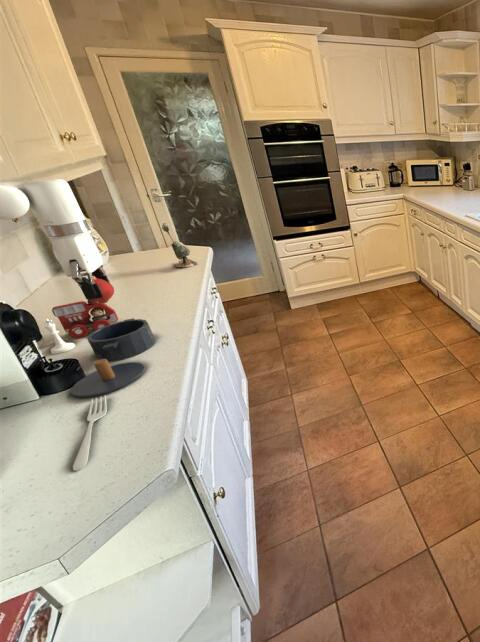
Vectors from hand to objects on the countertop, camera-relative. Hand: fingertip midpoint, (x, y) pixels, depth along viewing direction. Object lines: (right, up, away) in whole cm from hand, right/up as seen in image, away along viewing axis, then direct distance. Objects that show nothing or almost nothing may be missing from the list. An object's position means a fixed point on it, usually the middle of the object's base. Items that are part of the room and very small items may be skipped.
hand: (99, 293), depth 107 cm
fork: (+23, -30, -23) cm, 44 cm away
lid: (+10, -22, -7) cm, 25 cm away
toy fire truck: (-21, -12, +18) cm, 30 cm away
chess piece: (-19, -17, +8) cm, 27 cm away
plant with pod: (-36, +11, +73) cm, 82 cm away
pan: (0, -16, +7) cm, 18 cm away
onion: (0, -3, +1) cm, 3 cm away
